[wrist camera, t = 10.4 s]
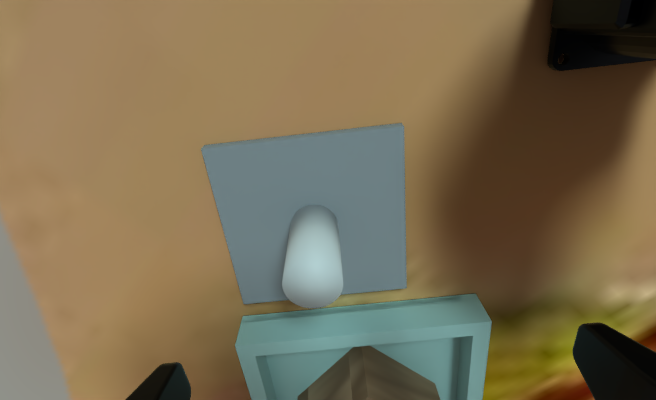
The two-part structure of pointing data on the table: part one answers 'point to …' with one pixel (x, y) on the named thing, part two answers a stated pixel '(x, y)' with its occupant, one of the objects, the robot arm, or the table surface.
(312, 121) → the table surface
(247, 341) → the tray
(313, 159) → the grey square knobbed piece
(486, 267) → the table surface
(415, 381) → the walnut square frame
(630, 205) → the table surface
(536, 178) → the table surface
